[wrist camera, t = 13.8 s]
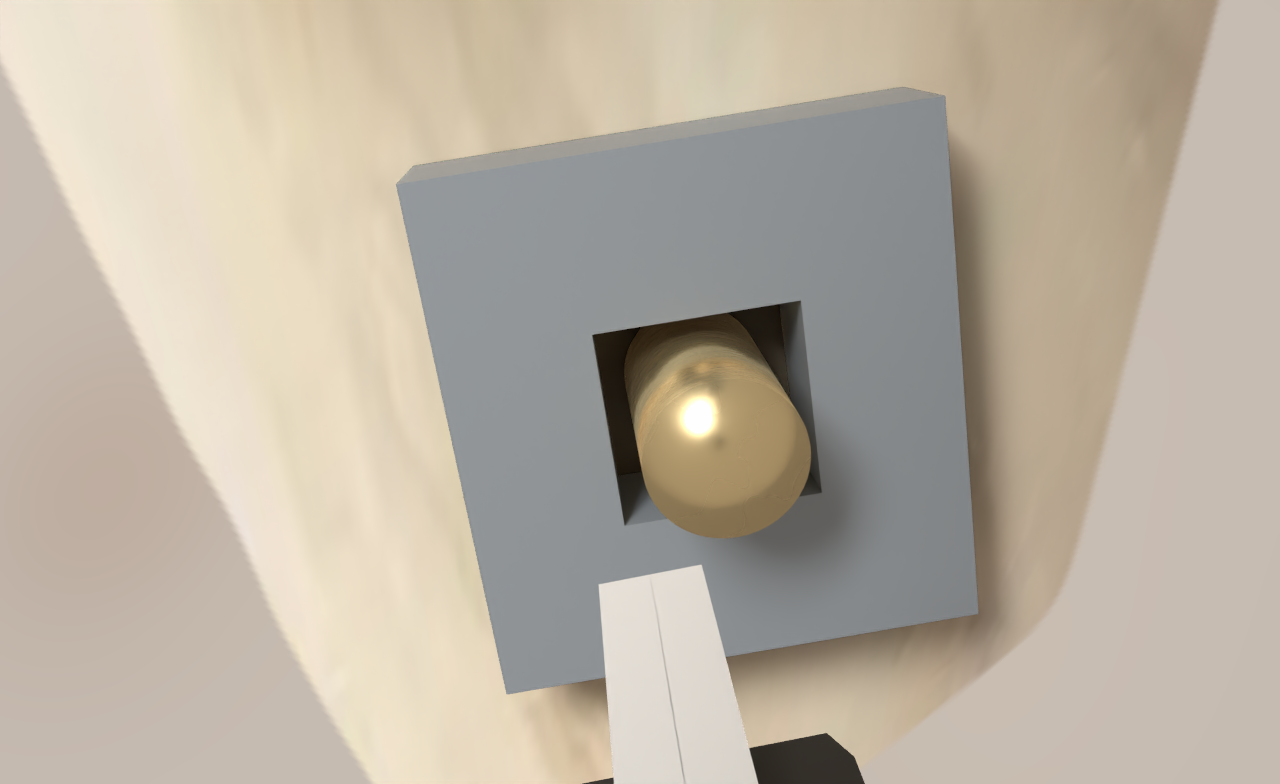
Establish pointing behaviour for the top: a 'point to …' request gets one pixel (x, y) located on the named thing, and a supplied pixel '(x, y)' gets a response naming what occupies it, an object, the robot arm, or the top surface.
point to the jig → (689, 288)
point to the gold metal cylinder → (713, 427)
